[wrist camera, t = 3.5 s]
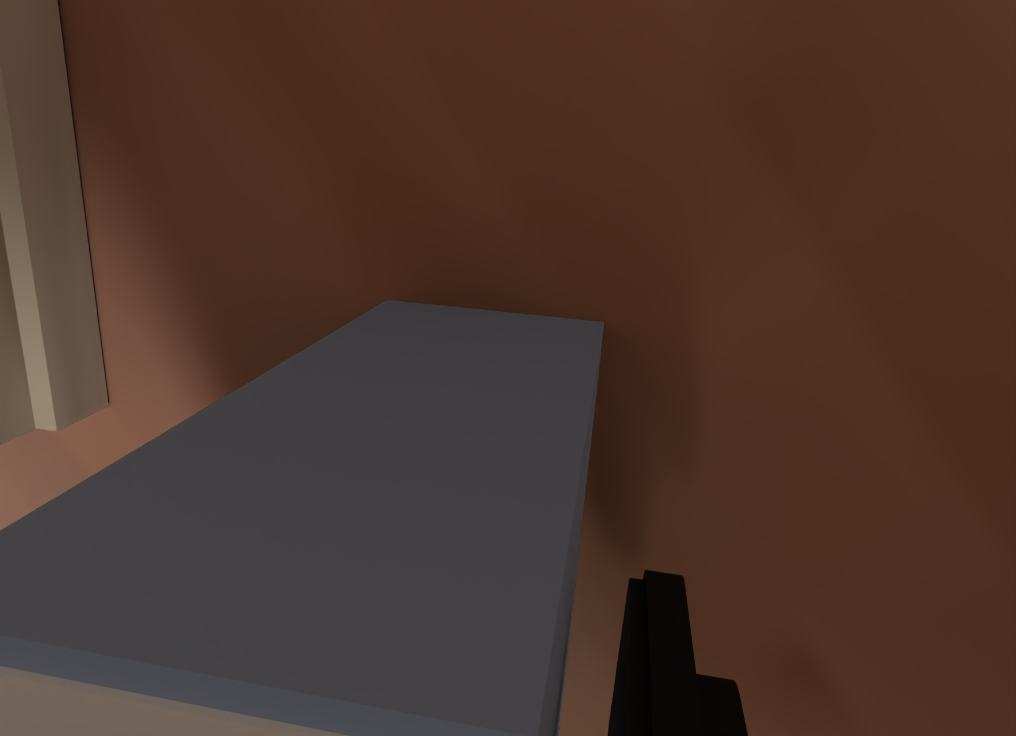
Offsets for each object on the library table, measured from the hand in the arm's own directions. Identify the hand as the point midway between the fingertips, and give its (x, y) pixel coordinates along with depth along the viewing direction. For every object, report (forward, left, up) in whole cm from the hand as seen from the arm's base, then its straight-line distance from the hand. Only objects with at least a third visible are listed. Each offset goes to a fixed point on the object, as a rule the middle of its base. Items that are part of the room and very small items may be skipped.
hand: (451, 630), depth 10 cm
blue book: (0, 0, -2) cm, 2 cm away
